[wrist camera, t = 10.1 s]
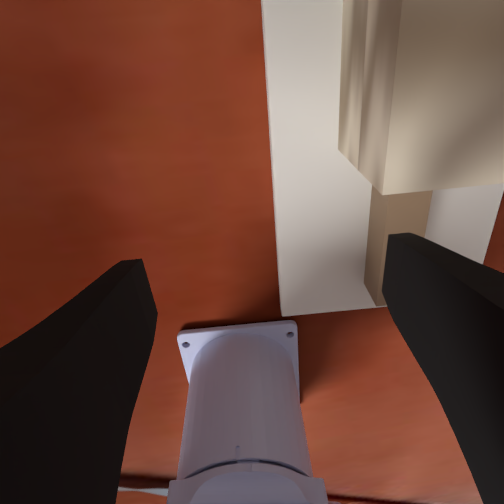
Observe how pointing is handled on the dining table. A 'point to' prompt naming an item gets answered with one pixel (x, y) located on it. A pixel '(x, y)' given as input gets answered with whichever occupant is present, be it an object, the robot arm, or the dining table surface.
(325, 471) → the dining table surface
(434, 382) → the robot arm
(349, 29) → the saddle block
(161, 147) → the dining table surface
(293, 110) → the board
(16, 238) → the dining table surface
